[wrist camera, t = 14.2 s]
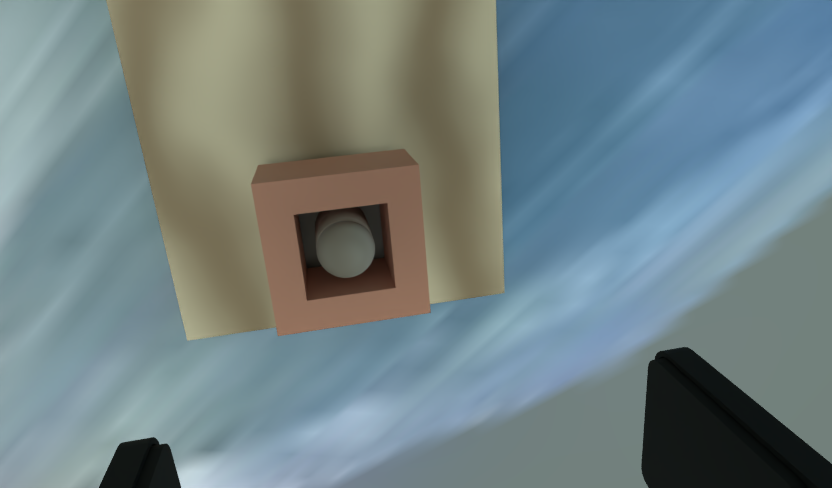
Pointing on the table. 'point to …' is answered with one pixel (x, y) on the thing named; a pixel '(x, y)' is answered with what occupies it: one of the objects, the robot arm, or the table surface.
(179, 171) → the board
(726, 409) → the robot arm
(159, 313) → the table surface
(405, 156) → the collar
